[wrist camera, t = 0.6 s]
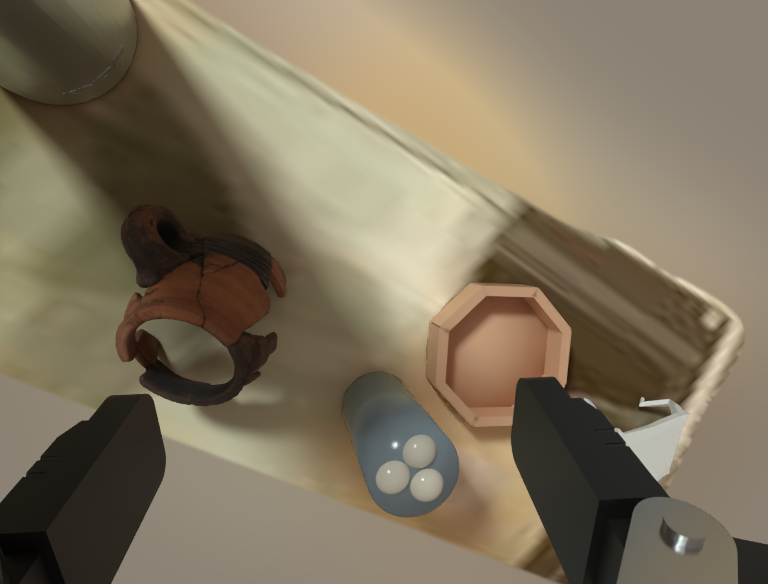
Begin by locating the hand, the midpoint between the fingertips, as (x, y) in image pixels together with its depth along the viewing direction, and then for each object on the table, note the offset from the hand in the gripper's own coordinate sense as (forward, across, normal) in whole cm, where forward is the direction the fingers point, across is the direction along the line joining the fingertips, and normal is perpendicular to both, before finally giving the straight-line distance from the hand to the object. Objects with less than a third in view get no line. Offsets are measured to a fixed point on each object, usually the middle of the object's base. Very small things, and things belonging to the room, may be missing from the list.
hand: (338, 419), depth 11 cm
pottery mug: (+21, +9, +5) cm, 24 cm away
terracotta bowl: (+22, -10, +11) cm, 27 cm away
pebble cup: (+20, -2, +14) cm, 25 cm away
